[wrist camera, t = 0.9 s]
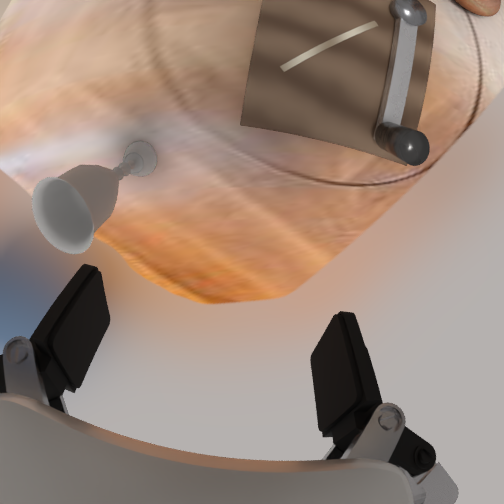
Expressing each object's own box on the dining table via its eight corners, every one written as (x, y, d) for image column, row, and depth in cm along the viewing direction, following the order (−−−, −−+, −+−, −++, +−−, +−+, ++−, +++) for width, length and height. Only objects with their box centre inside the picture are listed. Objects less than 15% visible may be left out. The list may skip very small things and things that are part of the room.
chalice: (174, 160, 33) (108, 222, 18) (143, 192, 36) (74, 267, 20) (138, 123, 30) (48, 159, 15) (109, 158, 33) (23, 213, 18)
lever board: (273, -47, 16) (274, -54, 15) (428, 6, 18) (436, 4, 16) (241, 123, 30) (240, 125, 29) (400, 161, 32) (407, 166, 30)
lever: (390, -7, 17) (421, -24, 10) (420, 8, 17) (454, -3, 10) (364, 142, 29) (392, 158, 22) (393, 152, 29) (426, 171, 22)
